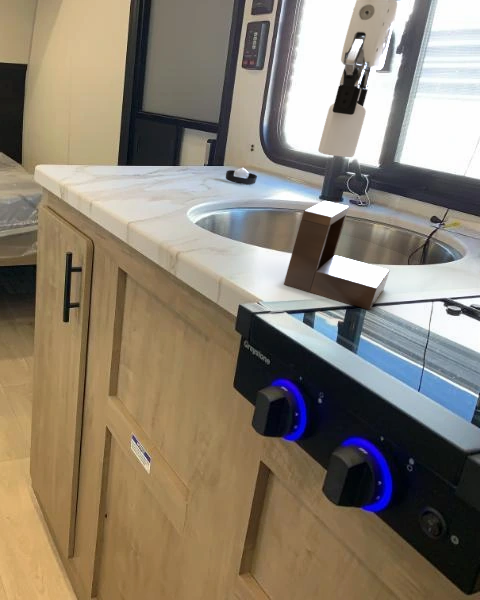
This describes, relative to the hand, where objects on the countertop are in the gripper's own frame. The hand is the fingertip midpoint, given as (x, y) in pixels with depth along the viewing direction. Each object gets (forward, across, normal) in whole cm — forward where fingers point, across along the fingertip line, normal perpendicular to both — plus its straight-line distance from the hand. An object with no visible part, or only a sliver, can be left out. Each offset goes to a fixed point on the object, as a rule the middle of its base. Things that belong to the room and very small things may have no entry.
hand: (346, 112), depth 97 cm
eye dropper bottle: (+7, 0, 0) cm, 7 cm away
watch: (+21, +43, +30) cm, 56 cm away
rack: (+22, -23, -9) cm, 33 cm away
